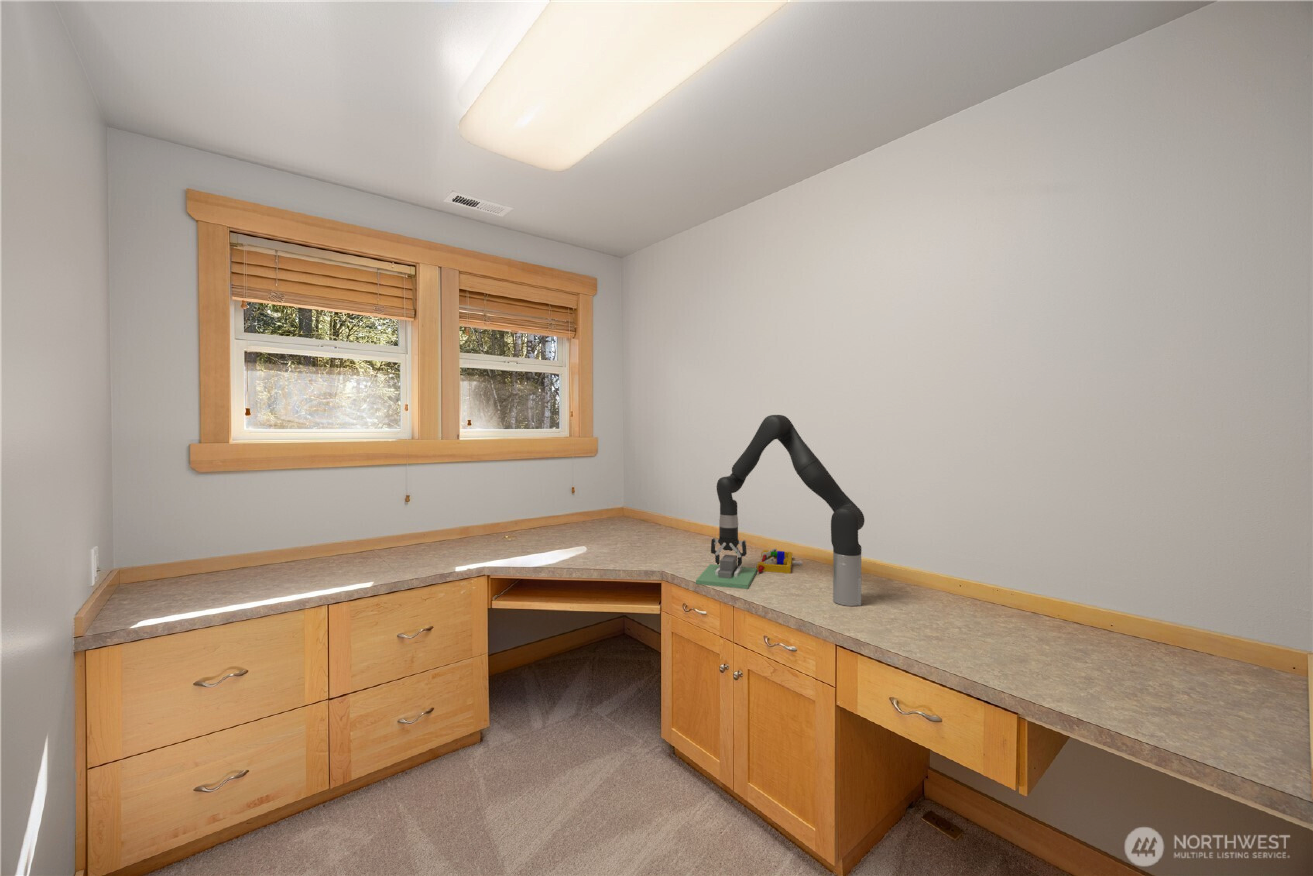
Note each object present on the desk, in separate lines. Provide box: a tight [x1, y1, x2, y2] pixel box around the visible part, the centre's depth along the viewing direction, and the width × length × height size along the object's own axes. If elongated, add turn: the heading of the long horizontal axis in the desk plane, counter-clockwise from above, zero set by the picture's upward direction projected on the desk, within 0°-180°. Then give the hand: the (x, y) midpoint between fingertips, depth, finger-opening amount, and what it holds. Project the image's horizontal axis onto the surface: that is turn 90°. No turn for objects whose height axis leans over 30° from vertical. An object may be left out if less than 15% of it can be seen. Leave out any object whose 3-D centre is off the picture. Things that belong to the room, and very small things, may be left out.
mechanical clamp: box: [756, 547, 803, 574], centre depth 231 cm, size 18×6×30 cm
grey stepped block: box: [718, 554, 738, 579], centre depth 214 cm, size 13×5×6 cm, turn 161°
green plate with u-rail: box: [695, 563, 758, 590], centre depth 213 cm, size 20×24×3 cm
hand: (728, 565), depth 215 cm, fingers open, 8 cm apart
